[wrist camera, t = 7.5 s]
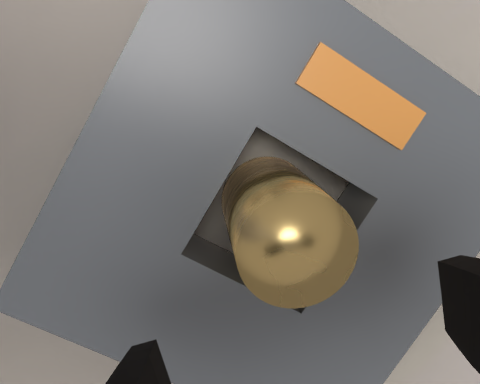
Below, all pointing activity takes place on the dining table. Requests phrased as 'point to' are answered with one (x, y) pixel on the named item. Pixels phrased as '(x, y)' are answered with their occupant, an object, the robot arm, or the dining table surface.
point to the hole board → (217, 169)
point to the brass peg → (287, 234)
